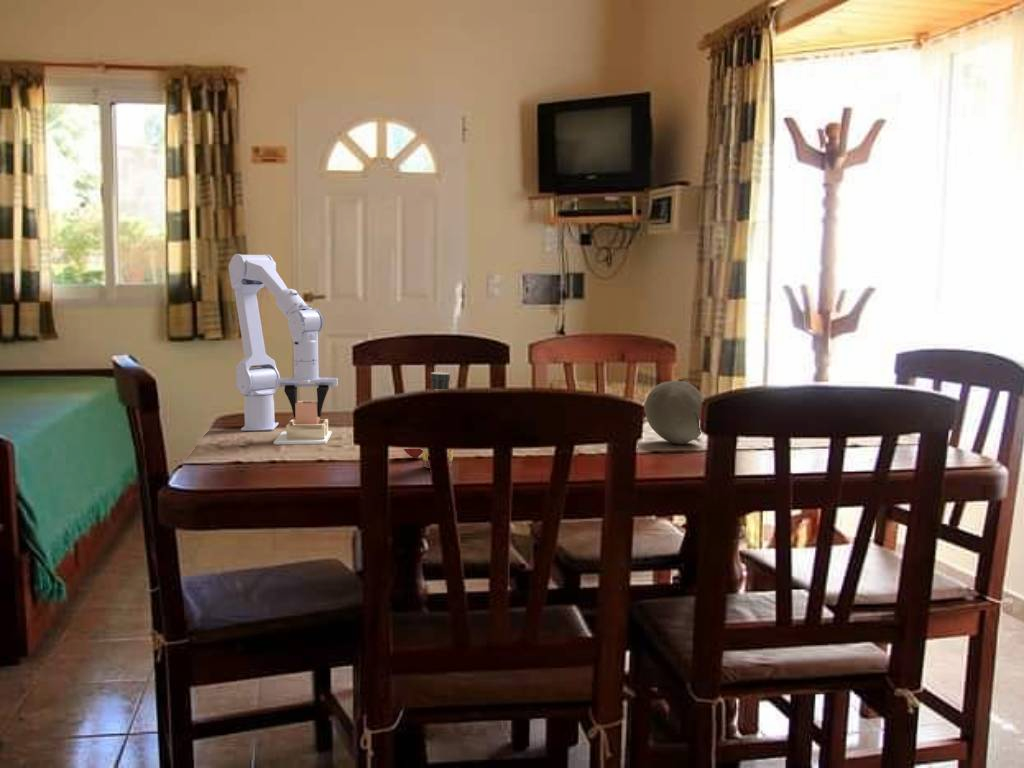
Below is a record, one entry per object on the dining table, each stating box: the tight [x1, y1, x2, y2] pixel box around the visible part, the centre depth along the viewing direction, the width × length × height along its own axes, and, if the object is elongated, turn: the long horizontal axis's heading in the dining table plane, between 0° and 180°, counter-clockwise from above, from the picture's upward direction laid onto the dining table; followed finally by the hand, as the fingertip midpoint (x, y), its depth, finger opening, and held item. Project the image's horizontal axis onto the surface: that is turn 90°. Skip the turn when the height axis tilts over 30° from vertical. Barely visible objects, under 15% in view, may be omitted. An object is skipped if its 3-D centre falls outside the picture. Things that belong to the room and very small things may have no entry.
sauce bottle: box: [422, 371, 454, 469], centre depth 198 cm, size 7×6×20 cm
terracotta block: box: [294, 400, 320, 425], centre depth 230 cm, size 5×5×5 cm
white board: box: [273, 430, 333, 445], centre depth 231 cm, size 14×12×1 cm
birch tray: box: [285, 418, 329, 440], centre depth 231 cm, size 9×9×3 cm
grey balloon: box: [644, 380, 705, 445], centre depth 226 cm, size 14×14×15 cm
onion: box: [403, 449, 423, 459], centre depth 208 cm, size 6×6×8 cm
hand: (307, 416), depth 230 cm, fingers closed on terracotta block, 5 cm apart
